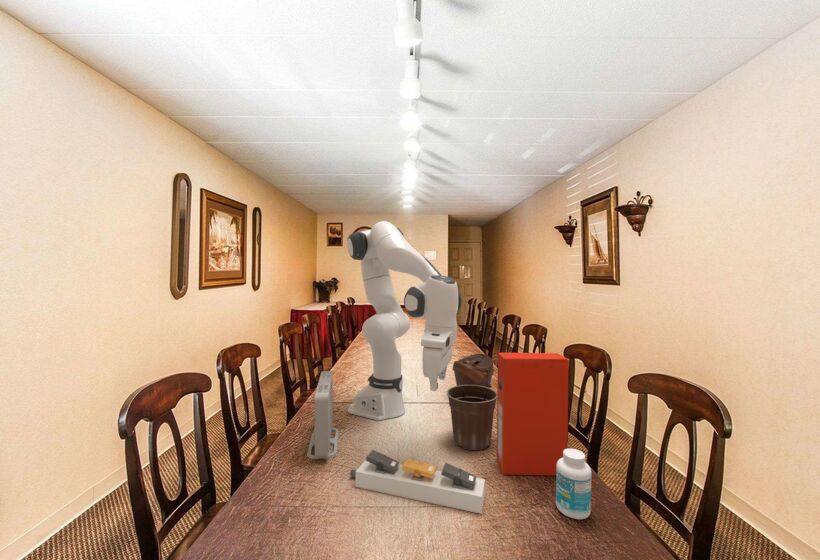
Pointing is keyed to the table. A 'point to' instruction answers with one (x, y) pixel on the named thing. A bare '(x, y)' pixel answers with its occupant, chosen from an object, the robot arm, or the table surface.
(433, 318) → the robot arm
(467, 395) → the plant pot
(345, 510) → the table surface
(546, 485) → the table surface
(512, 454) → the file binder
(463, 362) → the case
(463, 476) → the rocker right black
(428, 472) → the rocker middle orange
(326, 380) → the network device
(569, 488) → the pill bottle
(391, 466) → the rocker left black
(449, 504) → the power strip
